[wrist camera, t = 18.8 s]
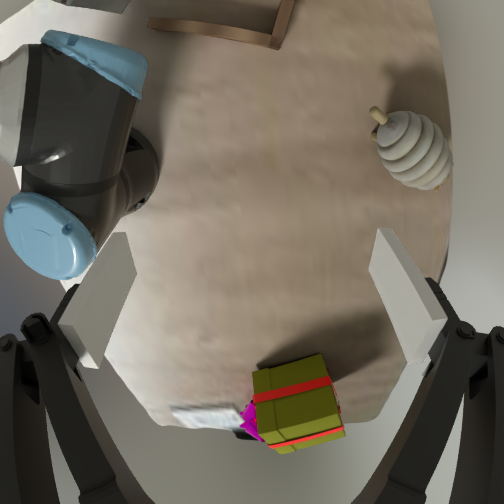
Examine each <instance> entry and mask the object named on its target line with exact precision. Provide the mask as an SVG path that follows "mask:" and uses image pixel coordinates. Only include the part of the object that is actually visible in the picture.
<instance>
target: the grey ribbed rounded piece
mask: <svg viewBox="0 0 504 504" xmlns="http://www.w3.org/2000/svg"><path fill="white" fill-rule="evenodd" d="M369 113H370V115H371V116H372V117H373V118H374V119H376V120H377V121H378V122H379V123H380V125H379V127H378V130H377V133H376V132H374V133H372V134H371V138H372V139H373V140H374V141H376V142H377V151H378V153H379V155H380V156H381V161H382V163H383V165H384V167H385V168H386V169H388V170H389V172H390V174H391V175H392V177H393V178H395V179H396V180H399V181H401V182H402V183H403V184H404V185H406V186H408V187H417V188H418V189H421V190H429V189H432V188H435V191H438V187H439V185H442V184H444V183H445V182H446V181H447V179H448V177H449V173H450V170H451V167H453V157H452V153H451V151H450V149H449V145H448V142H447V140H446V138H445V137H444V136H443V134H442V131H441V129H440V127H439V126H438V125H437V124H435V123H434V122H431V121H430V119H429V118H428V117H426V116H424V115H421V114H416V113H414V112H412V111H396V112H393V113H387V114H385V113H383V112H382V111H381V110H380V109H379V108H378V107H376V106H374V107H372V108H371V109H370V111H369Z"/></svg>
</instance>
